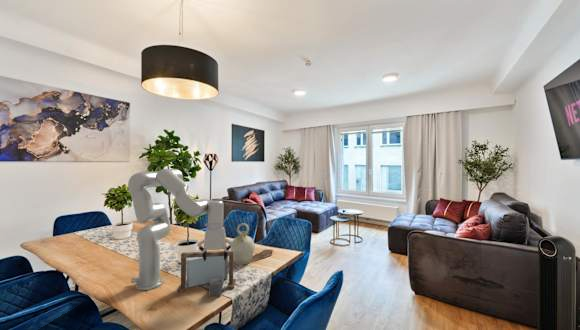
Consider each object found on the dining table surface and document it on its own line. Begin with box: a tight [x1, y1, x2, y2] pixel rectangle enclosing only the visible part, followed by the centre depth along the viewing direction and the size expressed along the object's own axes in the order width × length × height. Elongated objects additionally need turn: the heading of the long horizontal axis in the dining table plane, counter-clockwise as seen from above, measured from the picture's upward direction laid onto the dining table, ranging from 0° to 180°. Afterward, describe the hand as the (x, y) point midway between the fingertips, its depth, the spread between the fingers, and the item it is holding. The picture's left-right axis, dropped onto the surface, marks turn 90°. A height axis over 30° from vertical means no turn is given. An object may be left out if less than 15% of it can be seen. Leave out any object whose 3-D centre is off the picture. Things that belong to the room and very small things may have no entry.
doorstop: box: [208, 277, 225, 298], centre depth 118 cm, size 5×15×6 cm, turn 9°
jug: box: [230, 222, 255, 265], centre depth 153 cm, size 15×16×25 cm
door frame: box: [176, 250, 237, 293], centre depth 120 cm, size 28×8×18 cm, turn 98°
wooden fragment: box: [250, 249, 274, 264], centre depth 162 cm, size 26×11×1 cm, turn 149°
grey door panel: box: [186, 256, 229, 289], centre depth 124 cm, size 21×1×14 cm, turn 121°
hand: (215, 259), depth 115 cm, fingers open, 9 cm apart
